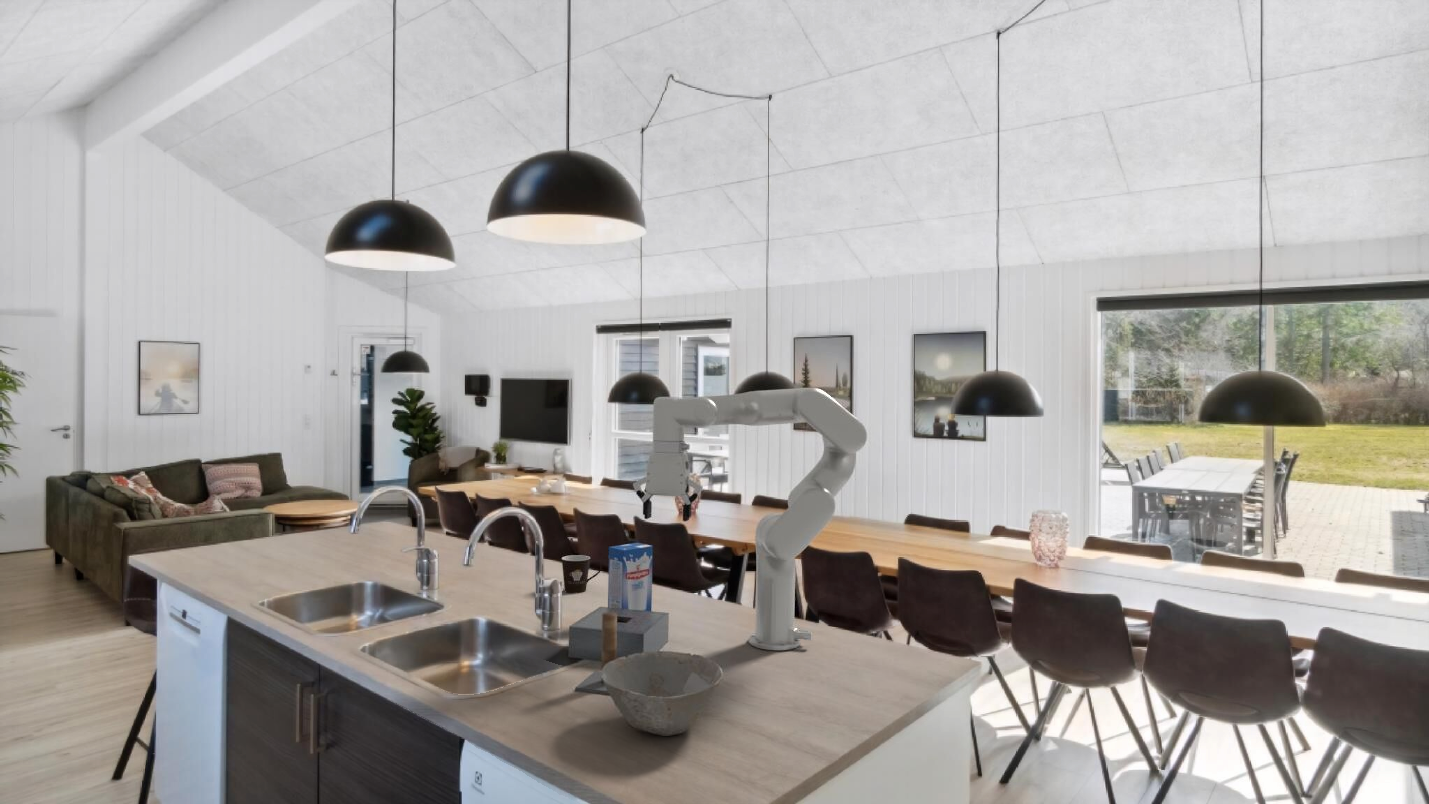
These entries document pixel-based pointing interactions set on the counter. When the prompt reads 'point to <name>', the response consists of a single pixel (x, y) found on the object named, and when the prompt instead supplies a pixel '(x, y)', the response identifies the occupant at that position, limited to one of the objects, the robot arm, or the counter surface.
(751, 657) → the counter surface
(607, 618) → the dowel
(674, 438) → the robot arm
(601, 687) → the mat
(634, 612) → the box
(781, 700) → the counter surface
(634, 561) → the milk carton
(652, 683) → the ceramic bowl
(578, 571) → the coffee mug
